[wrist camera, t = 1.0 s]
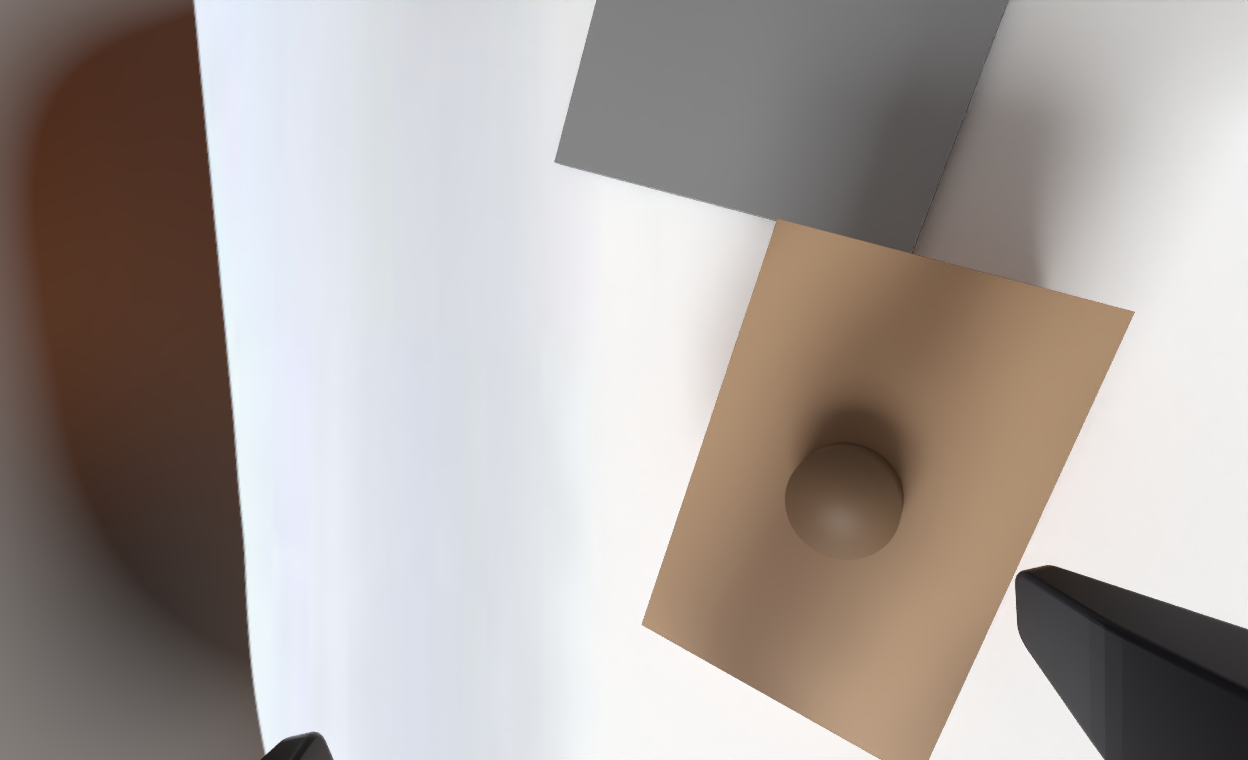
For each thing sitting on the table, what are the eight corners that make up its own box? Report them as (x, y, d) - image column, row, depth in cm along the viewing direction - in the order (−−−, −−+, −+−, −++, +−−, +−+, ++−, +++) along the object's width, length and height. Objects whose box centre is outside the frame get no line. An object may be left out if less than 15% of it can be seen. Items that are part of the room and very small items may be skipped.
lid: (1112, 314, 14) (1150, 309, 12) (921, 736, 16) (917, 810, 14) (792, 229, 17) (767, 211, 14) (666, 600, 19) (625, 640, 17)
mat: (1048, -103, 18) (1049, -112, 17) (910, 256, 20) (910, 254, 19) (635, -124, 23) (630, -131, 23) (560, 164, 25) (554, 161, 25)
